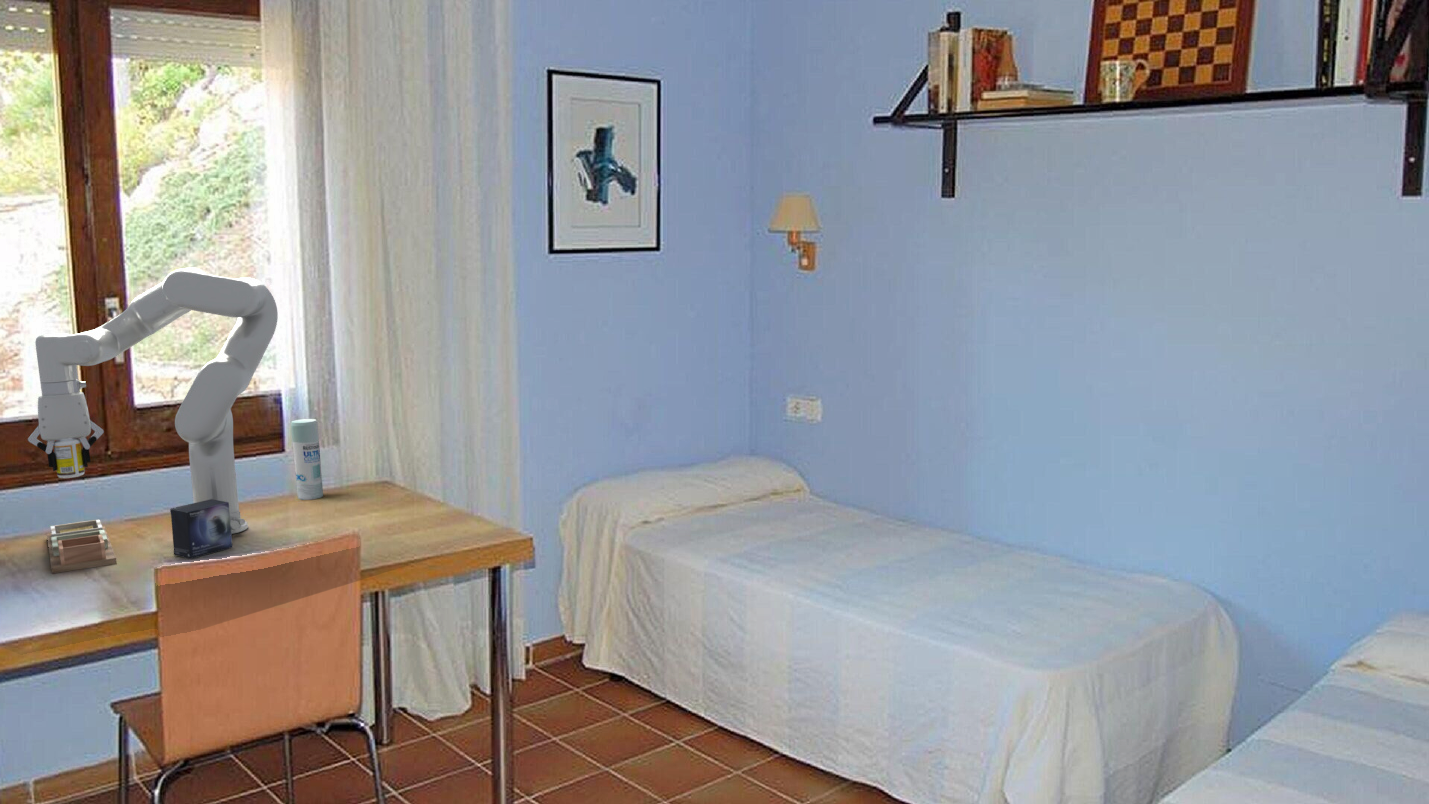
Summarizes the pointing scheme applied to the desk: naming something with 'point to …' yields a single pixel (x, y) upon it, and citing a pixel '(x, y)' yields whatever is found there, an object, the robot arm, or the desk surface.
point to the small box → (201, 528)
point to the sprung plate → (76, 529)
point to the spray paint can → (307, 458)
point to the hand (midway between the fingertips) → (70, 467)
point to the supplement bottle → (69, 458)
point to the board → (79, 547)
